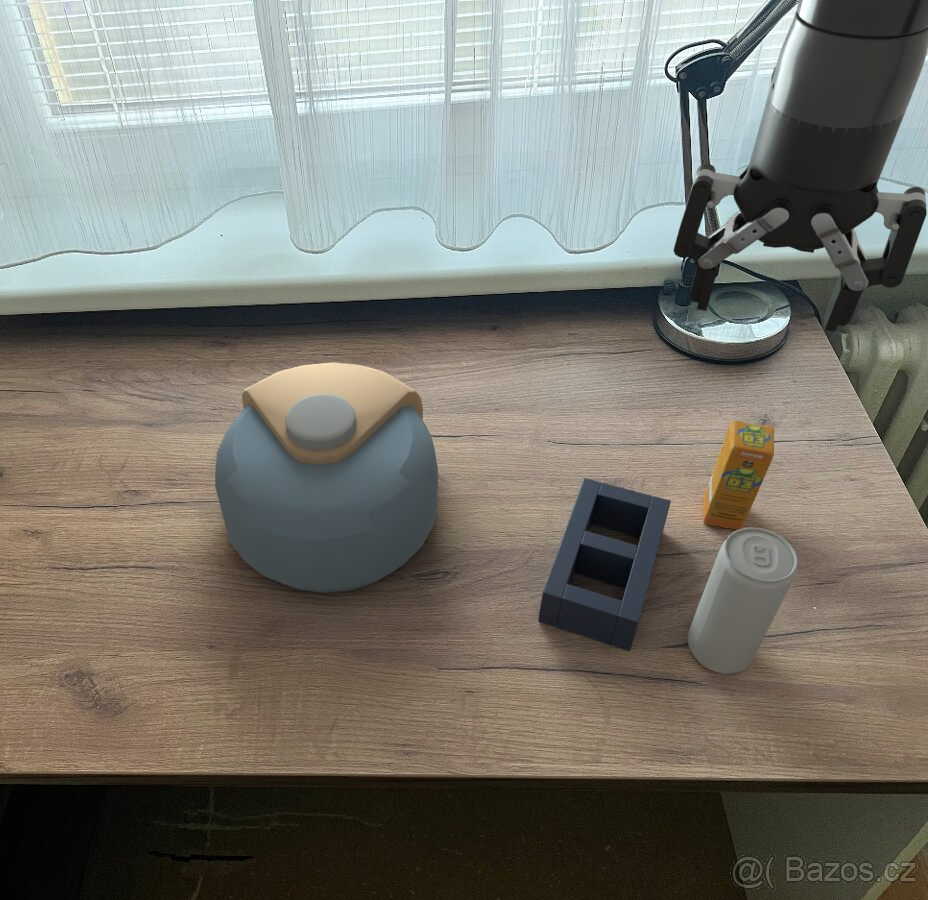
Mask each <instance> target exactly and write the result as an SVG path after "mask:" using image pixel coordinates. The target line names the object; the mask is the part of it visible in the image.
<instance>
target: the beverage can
mask: <svg viewBox="0 0 928 900" xmlns="http://www.w3.org/2000/svg"><path fill="white" fill-rule="evenodd" d="M798 562H799V559H798V556H797V551H796V550H795V549H794V547H793V546H792V544H790V542H789V541H787V539H786V538H785V537H782V536H781V535H780V534H778V533H776V532H774V531H771V530H769V529H766V528H762V527H742V529H739V530H735V531H733V532H732V533H730V534H729V535H728V536H727V538H726V539H725V540H724V541H723V543H722V544H721V546H720V547H719V551H718V553H717V556H716V559H715V561H714V564H713V567H712V569H711V572H710V574H709V577H708V580H707V582H706V585H705V587H704V591H703V593H702V596H701V598H700V600H699V604H698V606H697V609H696V610H695V614H694V616H693V619H692V621H691V624H690V627H689V630H688V632H687V638H686V641H687V645H688V648H689V651H690V652H691V655H693V657H694V658H695V659H696V661H697V662H698V663H699V664H700V665H702V666H703V668H705V669H708V670H710V671H711V672H715V673H718V674H723V675H724V674H725V675H731V674H737V673H739V672H742V671H744V670H746V669H747V668H748V667H749V666H750V665H751V663H752V661H753V660H754V658H755V656H756V654H757V652H758V650H759V648H760V646H761V644H762V642H763V640H764V638H765V636H766V634H767V633H768V631H769V629H770V626H771V625H772V623H773V621H774V619H775V617H776V615H777V613H778V611H779V609H780V607H781V605H782V603H783V602H784V599H785V598H786V595H787V594H788V592H789V589H790V587H791V585H792V583H793V581H794V579H795V577H796V575H797V568H798V564H799V563H798Z"/></svg>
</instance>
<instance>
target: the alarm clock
mask: <svg viewBox="0 0 928 900" xmlns="http://www.w3.org/2000/svg"><path fill="white" fill-rule="evenodd" d="M241 398H242V408H243V409H242V410H241V412H240V413H238V415H237V416H236V417H235V419H234V420H233V422H232V423H231V424H230V425H229V427H228V428H227V429H226V431H225V433H224V435H223V437H222V440H221V442H220V445H219V447H218V449H217V451H216V459H215V471H214V487H215V491H216V494H217V499H218V504H219V507H220V510H221V514H222V518H223V522H224V526H225V529H226V532H227V536H228V539H229V543H230V544H231V545H232V547H233V548H234V549H235V551H236V552H237V554H238V555H239V556H240V558H241V559H242V561H243V562H245V564H247V565H249V566H250V567H251V568H253V569H254V570H255V571H257V572H258V573H259V574H260V575H262V576H263V577H266V578H268V579H271V580H273V581H275V582H278V583H279V584H282V585H285V586H288V587H290V588H293V589H296V590H300V591H308V592H315V593H321V594H323V593H324V594H325V593H336V592H337V593H338V592H348V591H352V590H355V589H358V588H362V587H366V586H369V585H372V584H374V583H377V582H378V581H379V580H382V579H383V578H385V577H387V576H388V575H390V574H392V573H394V572H395V571H396V570H397V569H399V568H400V567H402V566H404V564H406V563H407V562H408V561H409V560H410V559H411V558H412V557H413V556H414V555H415V554H416V553H417V552H418V551H419V550H420V549H421V548H422V547H423V545H424V543H425V541H426V540H427V539H428V537H429V534H430V533H431V531H432V529H433V527H434V524H435V519H436V515H437V508H438V497H439V496H438V493H439V491H438V489H439V488H438V487H439V486H438V484H439V482H438V479H439V478H438V477H439V468H438V461H437V455H436V447H435V445H434V441H433V436H432V434H431V432H430V430H429V428H428V427H427V425H426V423H425V422H424V407H423V401H422V396H420V394H419V393H418V392H417V391H416V390H415V389H414V388H412V387H411V386H409V385H407V384H405V383H404V382H402V381H401V380H399V379H397V378H395V377H394V376H393V375H391V374H389V373H387V372H386V371H384V370H380V369H377V368H372V367H368V366H365V365H361V364H353V363H342V362H323V363H312V364H311V363H310V364H303V365H299V366H295V367H290V368H287V369H283V370H279V371H277V372H275V373H273V374H271V375H269V376H268V377H265V378H264V379H261V380H260V381H258V382H255V383H254V384H252V385H250V386H248V387H245V388H244V389H243V391H242V395H241Z"/></svg>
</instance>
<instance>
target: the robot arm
mask: <svg viewBox="0 0 928 900" xmlns="http://www.w3.org/2000/svg"><path fill="white" fill-rule="evenodd" d="M927 55H928V0H798V3H797V5H796V11H795V13H794V15H793V19H792V22H791V24H790V26H789V29H788V32H787V33H786V36H785V39H784V41H783V43H782V46H781V48H780V52H779V55H778V57H777V60H776V65H775V66H774V68H773V70H772V74H771V77H770V80H771V81H770V86H769V91H768V94H767V97H766V101H765V105H764V109H763V112H762V116H761V120H760V123H759V126H758V131H757V134H756V138H755V141H754V144H753V148H752V152H751V156H750V160H749V163H748V165H747V167H746V168H745V170H743V172H742V173H741V174H740V175H732V174H727V173H721V172H716V171H717V170H716V168H715V166H714V165H713V164H711V163H702V164H700V165H699V166H698V167H697V169H696V172H695V175H694V178H693V182H692V185H691V189H690V191H689V195H688V198H687V202H686V204H685V209H684V212H683V215H682V218H681V221H680V225H679V228H678V232H677V235H676V239H675V242H674V247H673V253H674V255H675V256H676V257H678V258H689V259H691V260H693V262H694V263H695V265H696V268H695V272H694V276H693V278H692V279H693V280H692V284H691V287H690V293H689V299H690V302H691V303H692V302H694V303H697V305H696V309H695V310H696V311H702V312H707V310H708V306H709V303H710V299H711V296H712V293H713V292H712V291H713V288H714V286H715V285H714V284H715V282H716V277H717V274H718V270H719V264H721V263H722V262H723V261H724V260H726V259H727V258H729V257H730V256H732V255H737V254H740V253H741V252H742V251H744V250H745V249H746V248H748V247H749V246H751V245H752V244H754V243H755V242H757V241H759V242H761V243H763V244H762V247H765V248H772V249H773V248H774V249H776V248H791V249H793V250H796V251H798V252H804V253H811V254H814V253H815V250H820V249H825V251H826V253H827V255H828V257H829V258H830V260H831V262H832V264H833V266H834V268H835V269H838V271H839V272H840V274H839V276H838V278H837V282H836V284H835V286H834V289H833V291H832V294H831V297H830V299H829V302H828V304H827V307H826V309H825V312H824V317H823V331H824V332H829V333H831V332H832V333H836V330H837V329H838V326H841V327H846V325H848V324H849V323H850V322H851V320H852V318H853V315H854V313H855V311H856V309H857V306H858V303H859V301H860V298H861V297H862V294H863V292H864V291H865V290H866V289H867V288H869V287H873V286H879V285H881V286H883V287H885V288H887V289H888V288H890V289H892V288H897V287H898V286H900V285H901V284H902V282H903V280H904V277H905V275H906V272H907V270H908V267H909V264H910V261H911V258H912V255H913V253H914V250H915V247H916V244H917V242H918V239H919V237H920V233H921V231H922V228H923V225H924V223H925V220H926V217H927V214H928V212H927V211H928V210H927V197H926V192H925V189H923V188H922V187H919V186H911V187H909V188H908V189H906V190H905V191H904V192H903V193H900V192H883V191H879V189H878V184H879V180H880V178H881V175H882V173H883V170H884V167H885V165H886V163H887V160H888V157H889V156H890V155H889V154H890V152H891V149H892V148H893V145H894V142H895V139H896V138H897V134H898V131H899V129H900V127H901V124H902V121H903V119H904V117H905V115H906V111H907V109H908V107H909V104H910V102H911V99H912V96H913V95H914V91H915V89H916V87H917V83H918V82H919V81H918V80H919V78H920V75H921V73H922V70H923V67H924V65H925V62H926V58H927ZM728 196H733V200H734V202H735V204H736V206H737V208H738V211H736V212H735V213H734V214H732V215H731V216H730V217H728V219H727V220H726V221H725V223H724V224H723V225H721V226H720V227H719V228H717V229H716V230H715V231H713V232H712V233H711V234H709V235H708V236H706V235H703V234H702V233H699V229H700V227H701V224H702V221H703V218H704V215H705V211H706V208H708V209H711V208H716V207H717V206H718V205H720V203H721V201H722V200H723V199H724V198H725V197H728ZM875 213H878V214H880V215H882V217H883V225H884V227H885V228H886V229H888V230H890V232H889V234H888V237H887V241H886V243H885V246H884V249H883V252H882V255H881V257H876V258H867V256H866V254H865V252H864V250H863V248H862V246H861V244H860V242H859V239H858V235H857V233H856V231H855V228H858V226H860V225H861V224H863V223H864V222H867V220H869V219H870V218H872V216H874V215H875Z"/></svg>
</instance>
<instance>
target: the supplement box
mask: <svg viewBox="0 0 928 900" xmlns="http://www.w3.org/2000/svg"><path fill="white" fill-rule="evenodd" d="M774 456H775V429H774V426H773V425H759V424H755V423H754V424H753V423H748V422H744V421H742V420H741V421H740V420H737V419H736V420H735V419H734V420H731V421H729V424H728V429H727V432H726V435H725V437H724V440H723V443H722V446H721V448H720V452H719V454H718V457H717V460H716V463H715V465H714V468H713V471H712V474H711V476H710V479H709V482H708V485H707V486H706V489H705V492H704V495H703V500H702V501H703V503H702V505H703V506H702V510H703V511H702V512H703V513H702V517H703V519H702V520H703V521H702V522H703V524H704V525H707V526H713V527H720V528H726V529H731V530H735V531H737V530H739V529H742V528H744V525H745V523H746V520H747V517H748V515H749V513H750V511H751V509H752V506H753V504H754V503H755V500H756V498H757V495H758V493H759V492H760V491H759V490H760V488H761V486H762V484H763V481H764V479H765V477H766V476H767V472H768V470H769V468H770V466H771V464H772V462H773V459H774Z"/></svg>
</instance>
